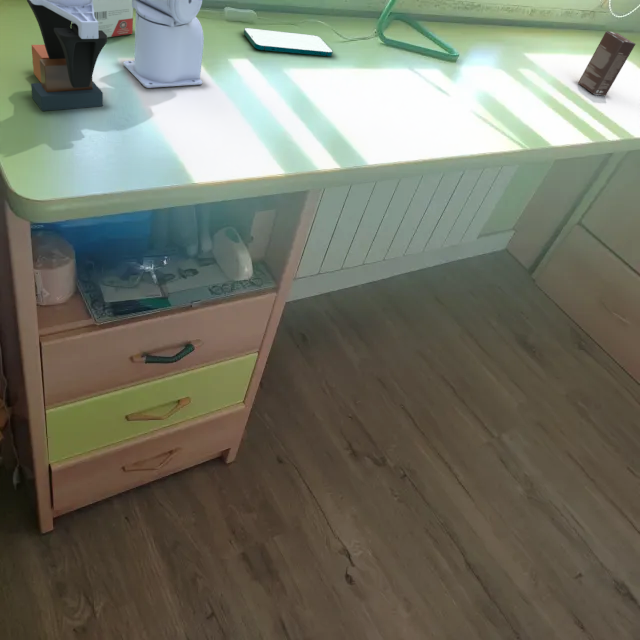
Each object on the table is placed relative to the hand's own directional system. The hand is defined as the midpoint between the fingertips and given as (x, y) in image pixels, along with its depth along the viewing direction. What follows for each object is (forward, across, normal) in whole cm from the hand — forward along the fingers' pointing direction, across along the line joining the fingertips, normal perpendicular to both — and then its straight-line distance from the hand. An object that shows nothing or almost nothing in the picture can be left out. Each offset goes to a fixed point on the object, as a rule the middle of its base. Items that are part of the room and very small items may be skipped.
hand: (68, 72), depth 78 cm
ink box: (+5, -22, +14) cm, 27 cm away
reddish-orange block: (+4, -7, 0) cm, 8 cm away
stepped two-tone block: (+4, 0, 0) cm, 4 cm away
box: (+5, +11, +116) cm, 117 cm away
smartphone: (+5, -16, +47) cm, 50 cm away
